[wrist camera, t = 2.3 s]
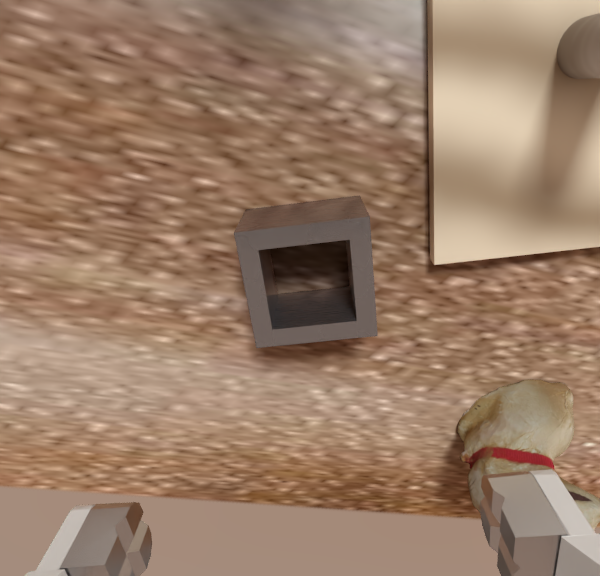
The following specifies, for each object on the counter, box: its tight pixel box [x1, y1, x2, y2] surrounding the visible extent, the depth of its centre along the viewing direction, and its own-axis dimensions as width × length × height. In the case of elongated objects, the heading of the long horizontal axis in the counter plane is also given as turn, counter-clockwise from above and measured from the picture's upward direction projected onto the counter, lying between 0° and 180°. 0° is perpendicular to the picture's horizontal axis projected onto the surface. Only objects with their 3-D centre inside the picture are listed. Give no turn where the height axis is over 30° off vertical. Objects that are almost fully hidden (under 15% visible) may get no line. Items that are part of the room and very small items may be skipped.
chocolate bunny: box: [458, 380, 600, 531], centre depth 26 cm, size 6×8×10 cm
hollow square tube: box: [234, 196, 377, 348], centre depth 24 cm, size 6×6×4 cm
